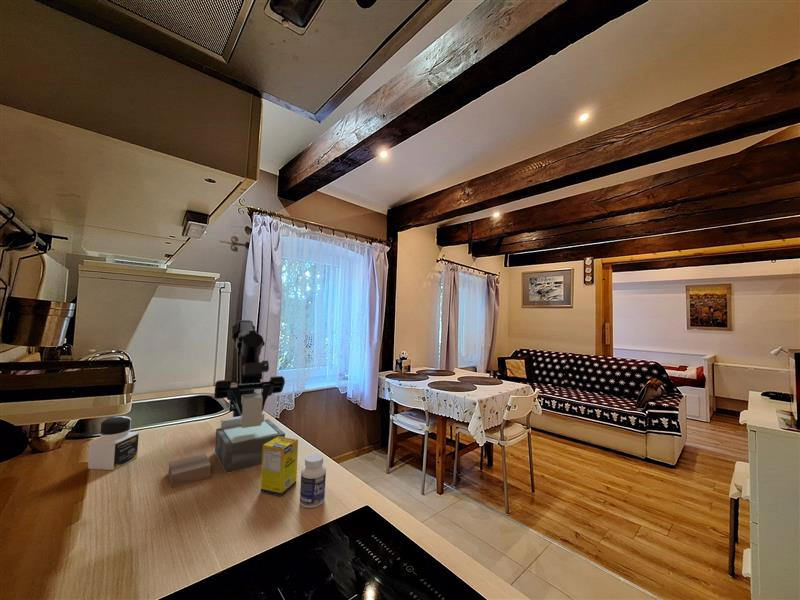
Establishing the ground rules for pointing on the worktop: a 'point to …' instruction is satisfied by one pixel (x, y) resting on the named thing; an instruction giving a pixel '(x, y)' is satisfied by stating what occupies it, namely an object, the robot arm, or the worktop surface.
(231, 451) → the frame
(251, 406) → the light grey block
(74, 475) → the worktop surface
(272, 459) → the supplement box
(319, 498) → the pill bottle
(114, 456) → the medicine bottle
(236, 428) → the trapdoor
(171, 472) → the walnut plinth
